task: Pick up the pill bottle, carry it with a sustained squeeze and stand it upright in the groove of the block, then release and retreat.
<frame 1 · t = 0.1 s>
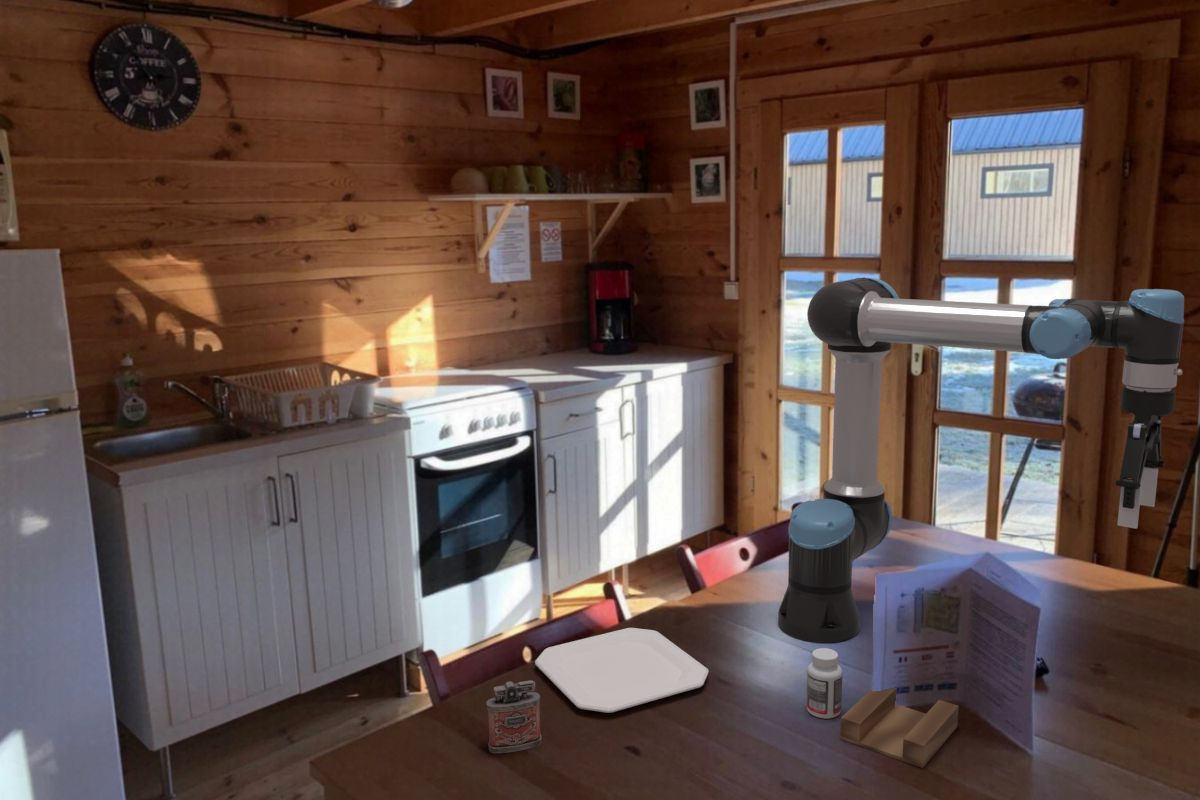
hand: (1136, 515, 157), 28 cm above the table, fingers open, 13 cm apart
groove block: (899, 732, 146), on the table
lighter: (515, 746, 145), on the table
plate: (620, 677, 166), on the table
pill bottle: (823, 712, 153), on the table
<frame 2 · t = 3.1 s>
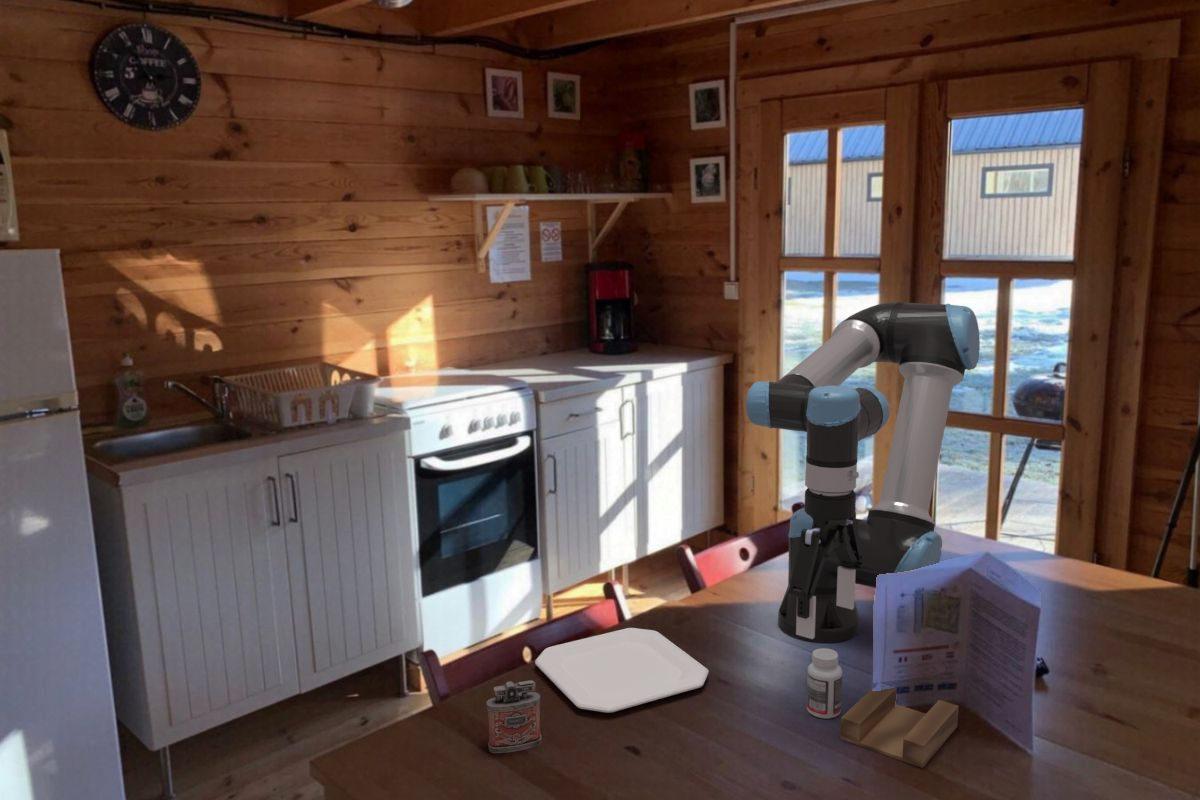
hand: (825, 621, 150), 15 cm above the table, fingers open, 13 cm apart
nothing on the table moved.
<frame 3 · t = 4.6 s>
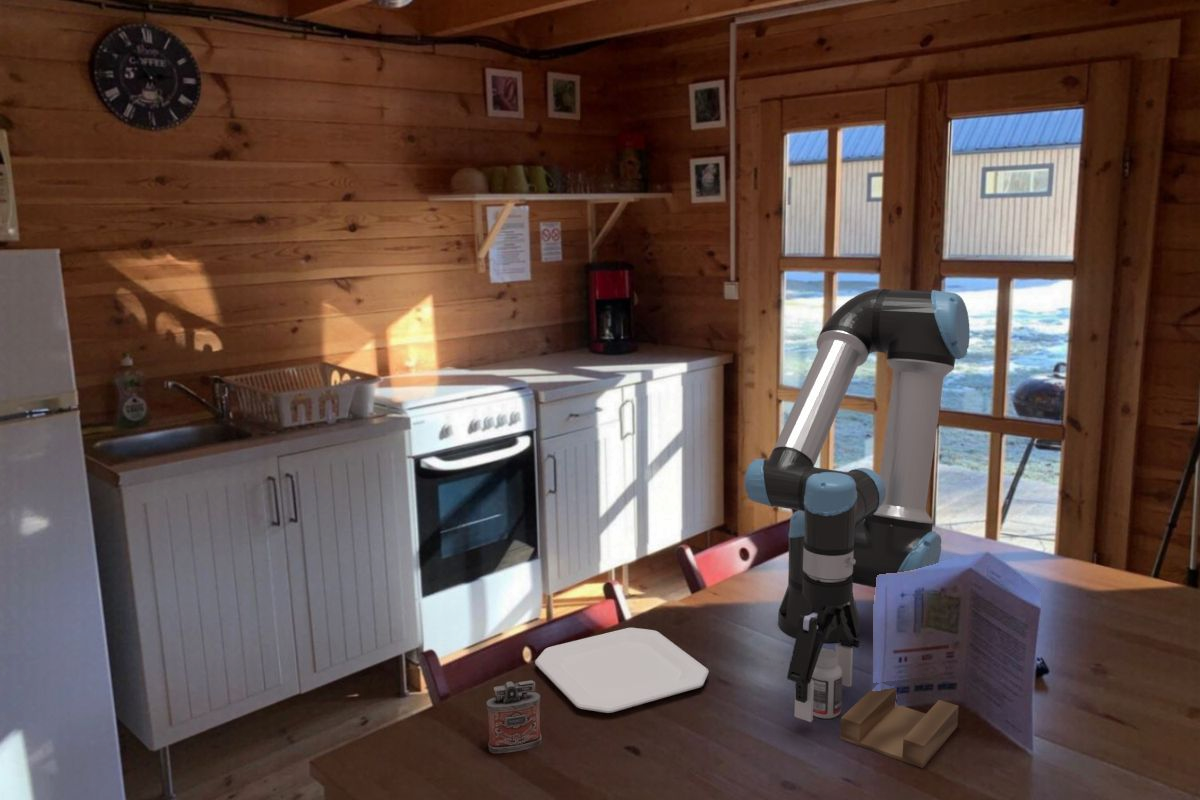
hand: (823, 700, 152), 2 cm above the table, fingers open, 13 cm apart
nothing on the table moved.
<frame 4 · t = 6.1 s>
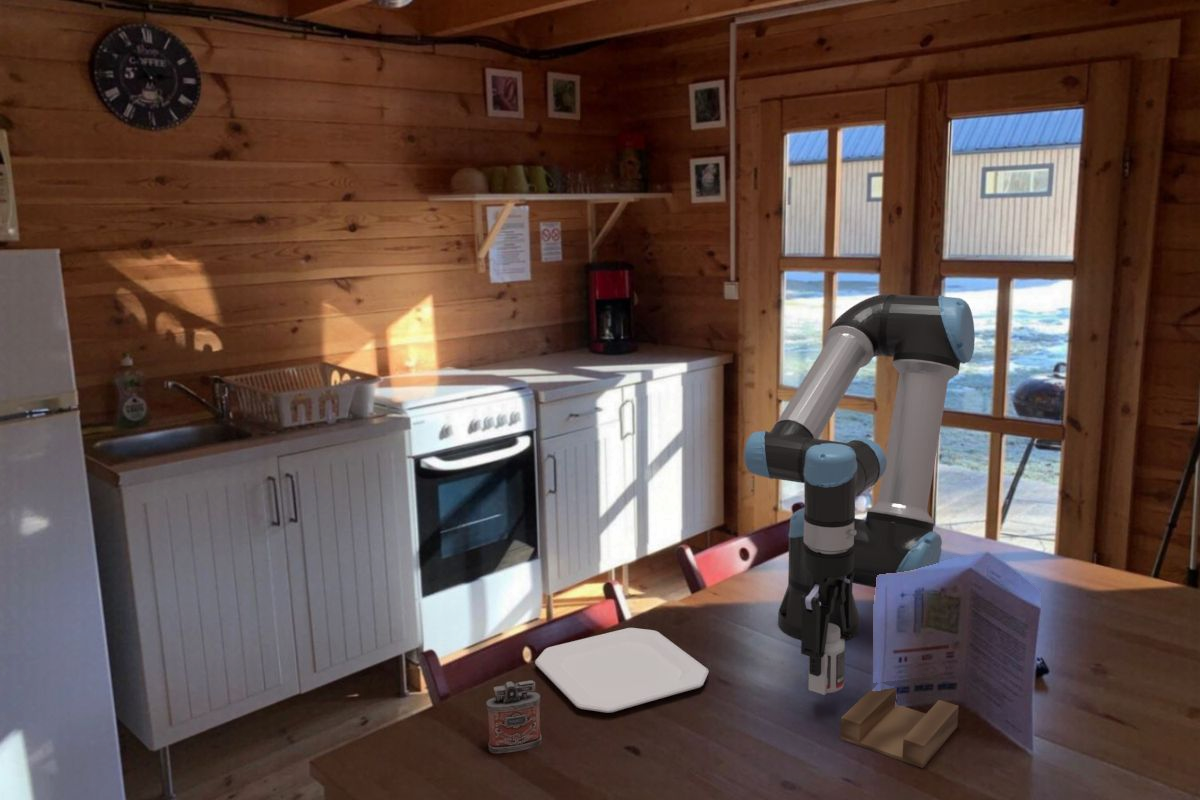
hand: (826, 682, 152), 4 cm above the table, fingers closed on pill bottle, 5 cm apart
pill bottle: (826, 686, 153), point 4 cm above the table, touching gripper
everything else where it was.
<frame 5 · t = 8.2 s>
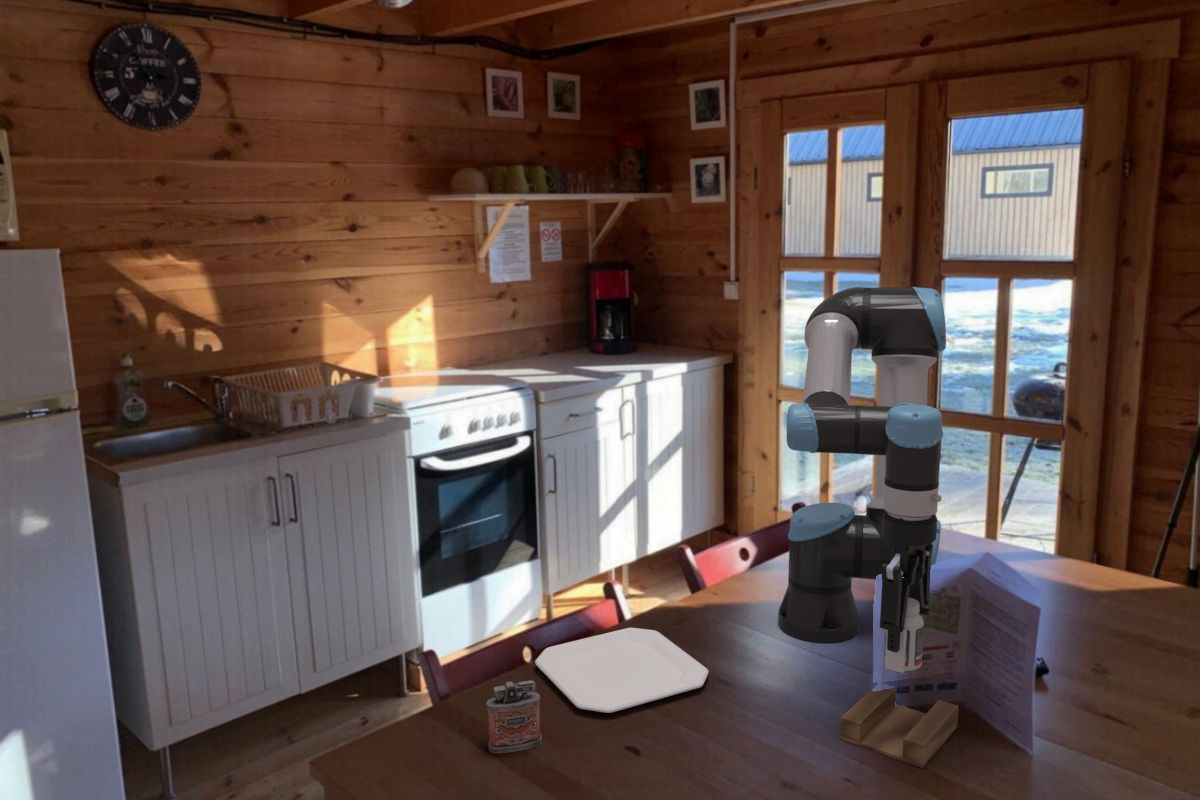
hand: (902, 661, 144), 12 cm above the table, fingers closed on pill bottle, 5 cm apart
pill bottle: (902, 664, 144), point 11 cm above the table, touching gripper
everything else where it was.
when the fingers open (2 cm above the table, at t = 10.5 s): pill bottle stays where it is, resting on groove block.
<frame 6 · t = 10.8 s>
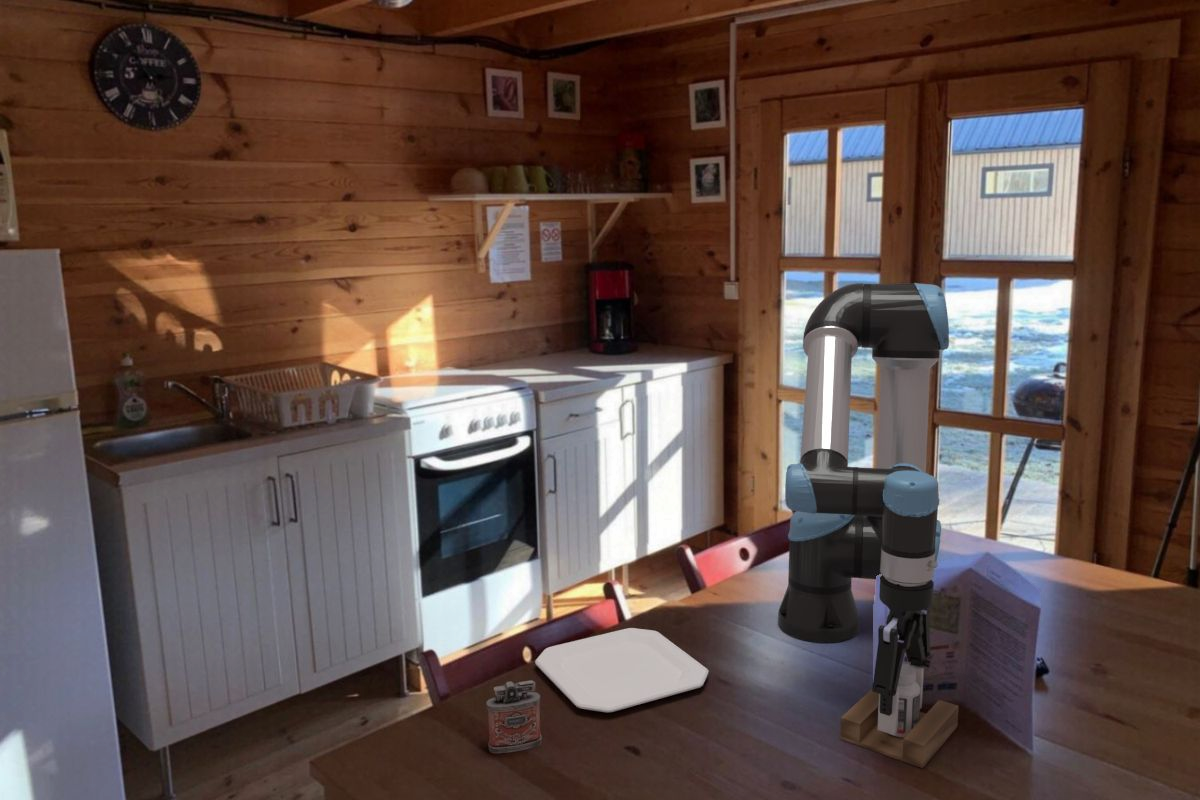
hand: (900, 718, 146), 2 cm above the table, fingers open, 9 cm apart
pill bottle: (899, 730, 146), resting on groove block
everything else where it was.
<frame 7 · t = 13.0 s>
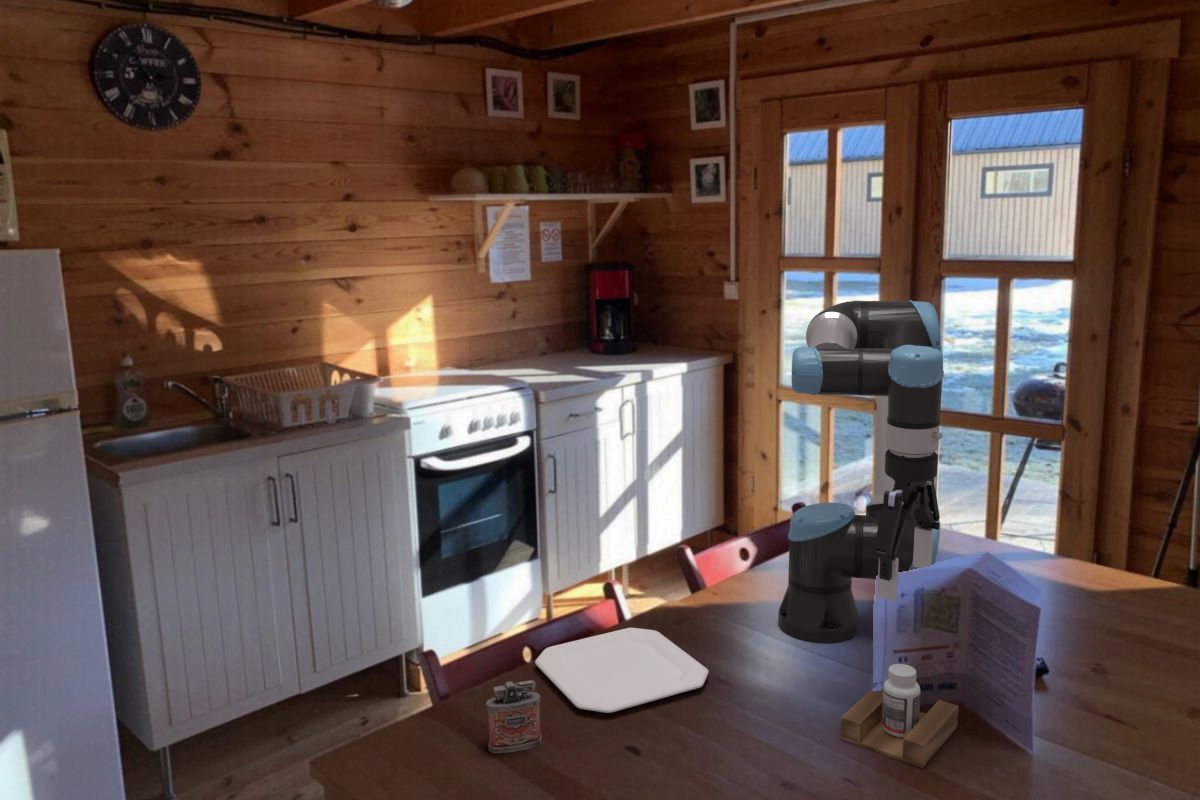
hand: (904, 582, 149), 21 cm above the table, fingers open, 13 cm apart
nothing on the table moved.
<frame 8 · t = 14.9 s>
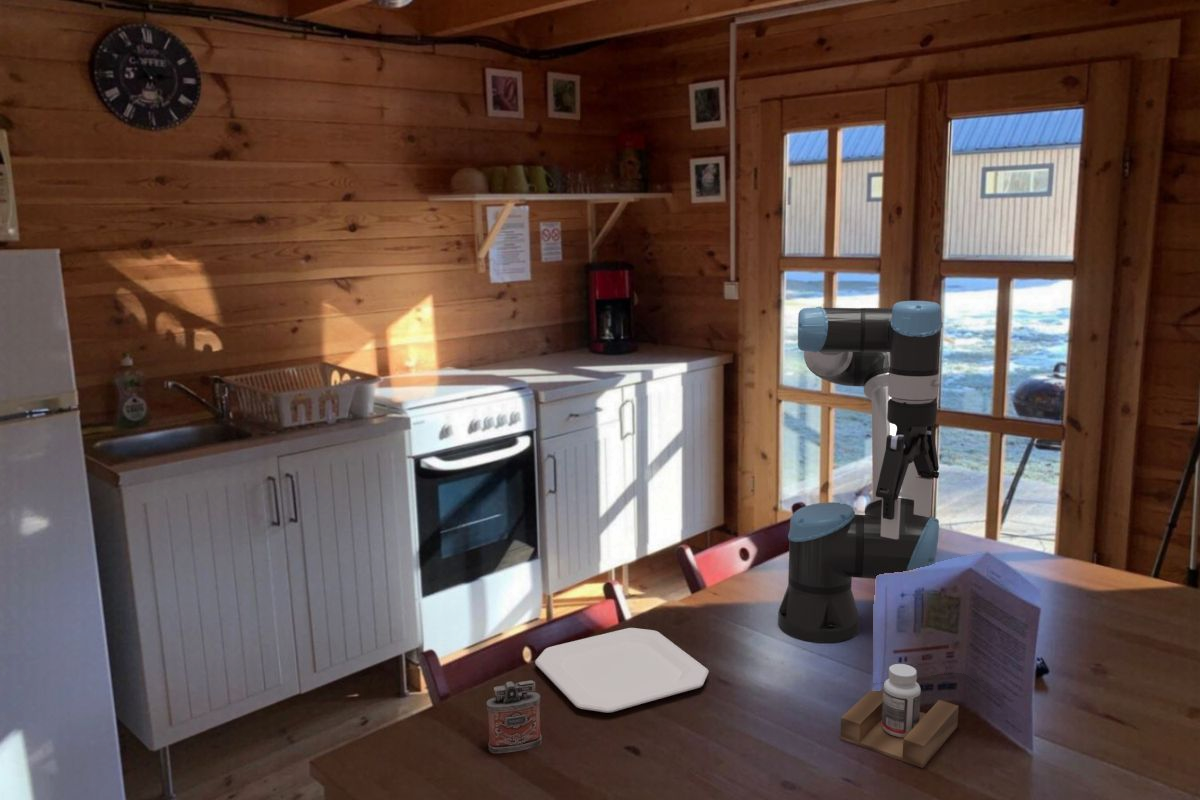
hand: (906, 526, 158), 27 cm above the table, fingers open, 13 cm apart
nothing on the table moved.
at the end: pill bottle inside the target area on the groove block (0.1 cm from its centre), point 0.3 cm above the groove block's base; pill bottle tilted 0°; the gripper is holding nothing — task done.
